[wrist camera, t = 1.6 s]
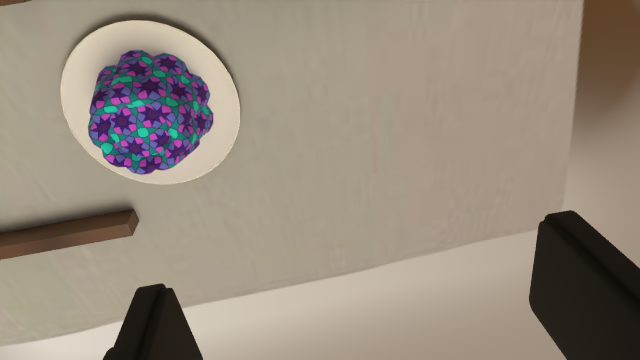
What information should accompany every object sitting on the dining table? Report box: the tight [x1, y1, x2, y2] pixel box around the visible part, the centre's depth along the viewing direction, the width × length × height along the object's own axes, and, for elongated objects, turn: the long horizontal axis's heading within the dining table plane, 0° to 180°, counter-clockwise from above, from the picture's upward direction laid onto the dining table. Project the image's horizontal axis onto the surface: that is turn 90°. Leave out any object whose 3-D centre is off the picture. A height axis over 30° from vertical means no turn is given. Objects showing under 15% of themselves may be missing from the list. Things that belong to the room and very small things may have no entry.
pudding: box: [60, 20, 240, 184], centre depth 28 cm, size 12×12×5 cm
